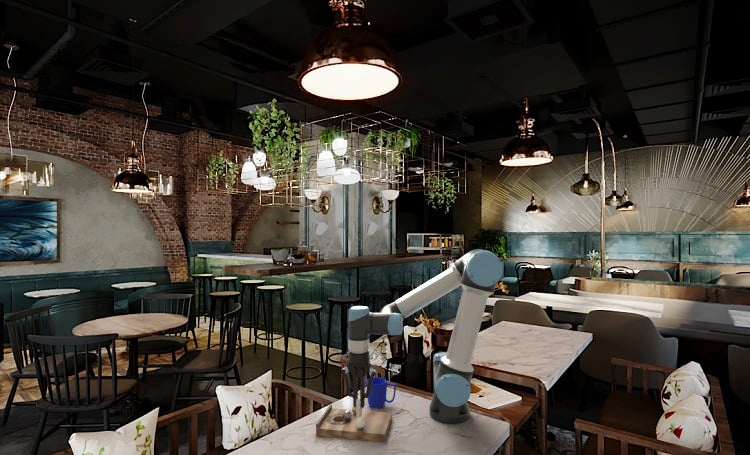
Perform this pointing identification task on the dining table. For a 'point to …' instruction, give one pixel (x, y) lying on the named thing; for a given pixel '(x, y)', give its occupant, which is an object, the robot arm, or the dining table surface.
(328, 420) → the deck
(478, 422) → the dining table surface
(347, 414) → the steel ball
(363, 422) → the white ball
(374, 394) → the mug
